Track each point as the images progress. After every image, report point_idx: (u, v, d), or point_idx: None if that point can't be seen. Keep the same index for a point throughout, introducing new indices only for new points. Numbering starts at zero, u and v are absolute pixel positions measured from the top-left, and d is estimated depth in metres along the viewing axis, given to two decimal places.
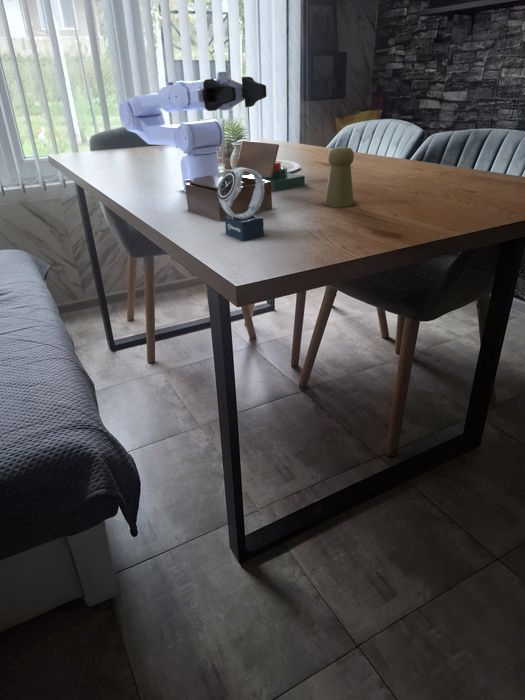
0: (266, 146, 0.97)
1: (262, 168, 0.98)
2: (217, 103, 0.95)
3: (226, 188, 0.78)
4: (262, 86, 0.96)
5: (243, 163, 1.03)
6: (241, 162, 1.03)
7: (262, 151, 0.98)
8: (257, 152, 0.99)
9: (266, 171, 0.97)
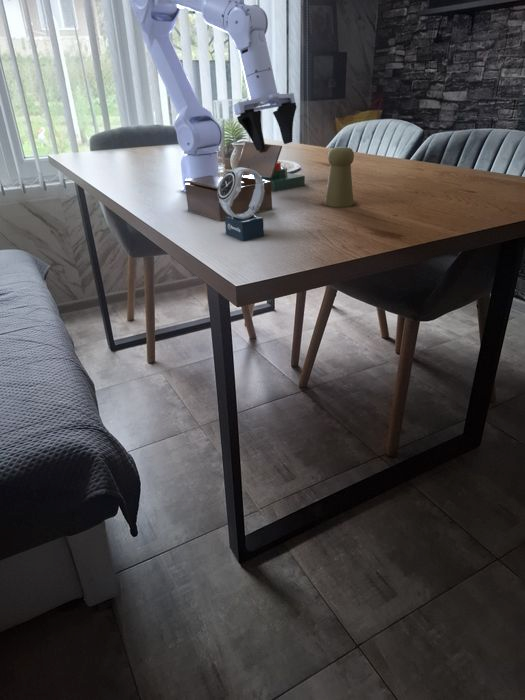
0: (269, 147, 0.98)
1: (263, 168, 0.98)
2: (246, 131, 0.98)
3: (226, 188, 0.78)
4: (289, 140, 1.02)
5: (244, 163, 1.03)
6: (242, 162, 1.03)
7: (264, 152, 0.99)
8: (259, 153, 1.00)
9: (267, 171, 0.98)
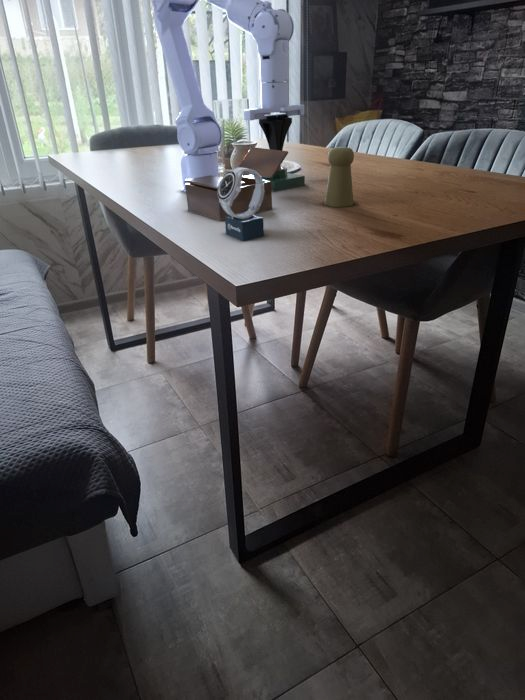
0: (275, 152, 0.99)
1: (264, 169, 0.99)
2: (265, 134, 1.01)
3: (226, 188, 0.78)
4: None
5: (246, 165, 1.03)
6: (244, 164, 1.04)
7: (269, 156, 1.00)
8: (264, 156, 1.01)
9: (268, 172, 0.98)
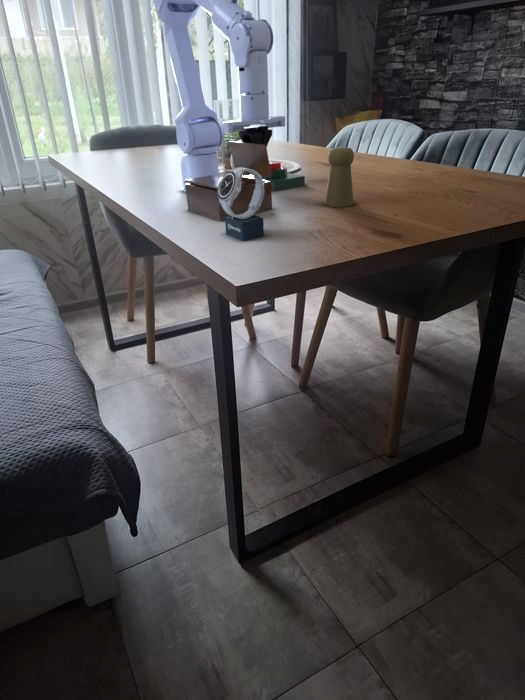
0: (254, 147, 0.96)
1: (259, 169, 0.98)
2: None
3: (226, 188, 0.78)
4: None
5: (239, 164, 1.02)
6: (237, 163, 1.03)
7: (252, 152, 0.97)
8: (248, 153, 0.98)
9: (264, 172, 0.97)
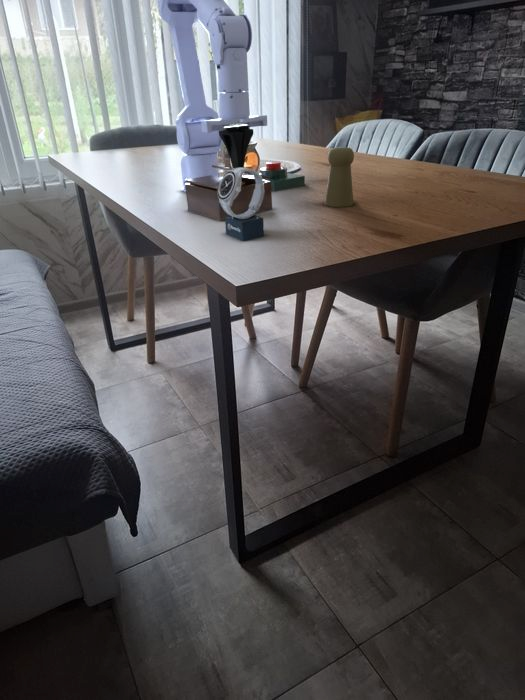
0: None
1: None
2: (226, 146, 0.96)
3: (226, 188, 0.78)
4: (240, 166, 0.97)
5: None
6: None
7: None
8: None
9: None
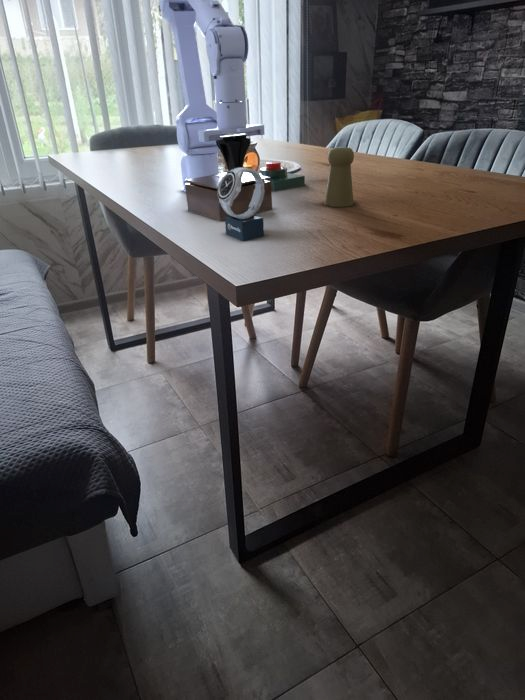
0: None
1: None
2: (223, 155, 0.97)
3: (226, 188, 0.78)
4: None
5: None
6: None
7: None
8: None
9: None
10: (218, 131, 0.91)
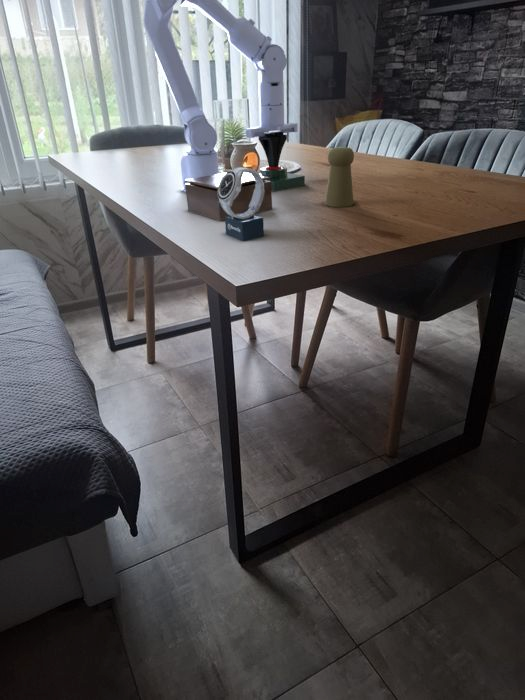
0: None
1: None
2: (264, 149, 1.18)
3: (226, 188, 0.78)
4: (275, 165, 1.19)
5: None
6: None
7: None
8: None
9: None
10: (262, 129, 1.12)
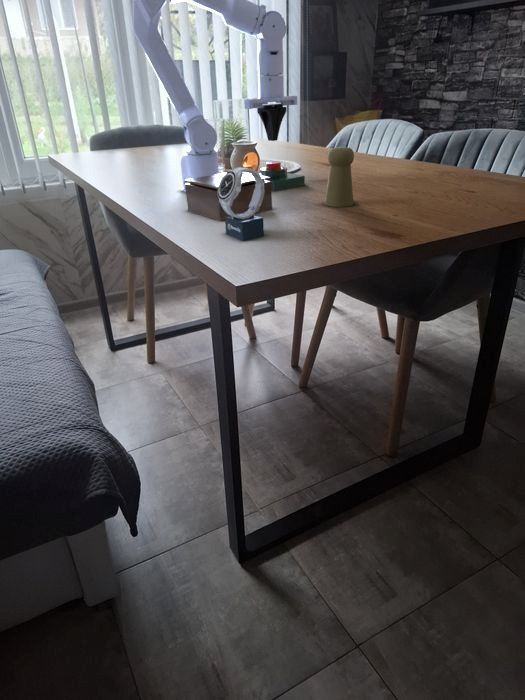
0: None
1: None
2: (263, 121, 1.15)
3: (226, 188, 0.78)
4: (275, 139, 1.16)
5: None
6: None
7: None
8: None
9: None
10: (261, 99, 1.09)
